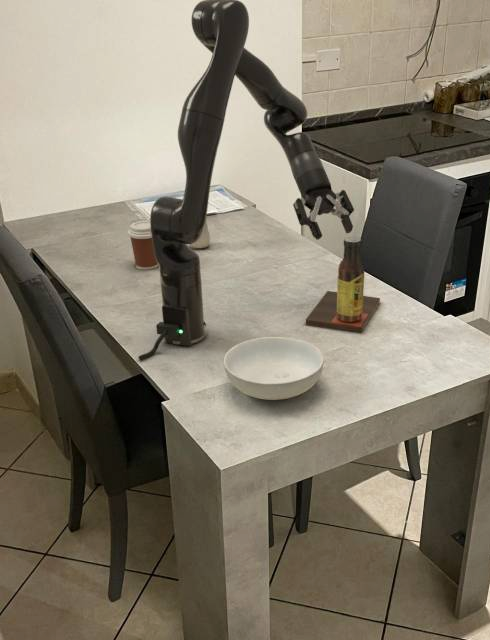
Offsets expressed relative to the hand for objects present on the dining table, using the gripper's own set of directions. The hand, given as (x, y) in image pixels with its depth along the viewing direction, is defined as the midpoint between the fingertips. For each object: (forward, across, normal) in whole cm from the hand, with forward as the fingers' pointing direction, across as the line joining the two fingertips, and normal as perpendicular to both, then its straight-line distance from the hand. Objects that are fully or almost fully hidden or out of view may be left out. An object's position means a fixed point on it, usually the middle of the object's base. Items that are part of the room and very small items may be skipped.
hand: (334, 234), depth 190 cm
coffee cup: (-24, -28, +53) cm, 64 cm away
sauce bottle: (+18, 0, +8) cm, 20 cm away
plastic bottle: (-27, -9, +56) cm, 63 cm away
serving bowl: (+32, -30, -2) cm, 44 cm away
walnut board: (+16, +2, +13) cm, 21 cm away
